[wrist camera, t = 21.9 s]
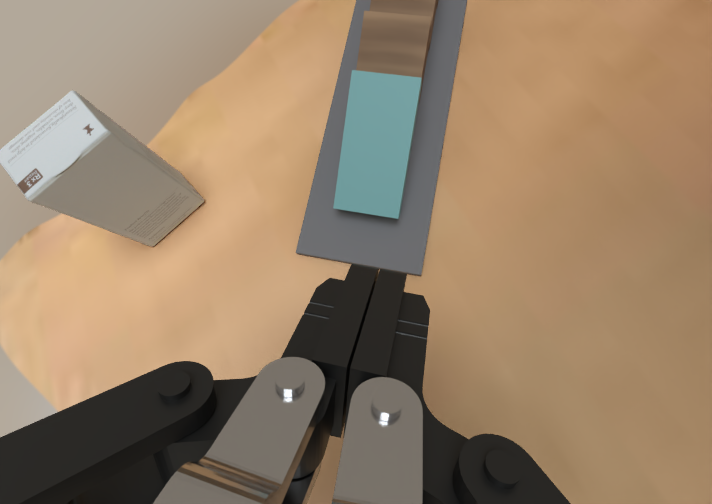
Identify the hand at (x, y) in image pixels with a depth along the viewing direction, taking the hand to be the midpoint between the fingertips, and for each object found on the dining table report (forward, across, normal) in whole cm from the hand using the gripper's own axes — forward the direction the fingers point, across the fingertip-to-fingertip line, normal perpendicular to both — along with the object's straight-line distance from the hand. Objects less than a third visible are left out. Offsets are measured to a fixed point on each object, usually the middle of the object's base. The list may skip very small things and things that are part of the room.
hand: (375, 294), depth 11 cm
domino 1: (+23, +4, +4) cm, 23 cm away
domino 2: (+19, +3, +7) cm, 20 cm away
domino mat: (+26, +4, +2) cm, 27 cm away
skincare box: (+18, +21, +10) cm, 29 cm away
